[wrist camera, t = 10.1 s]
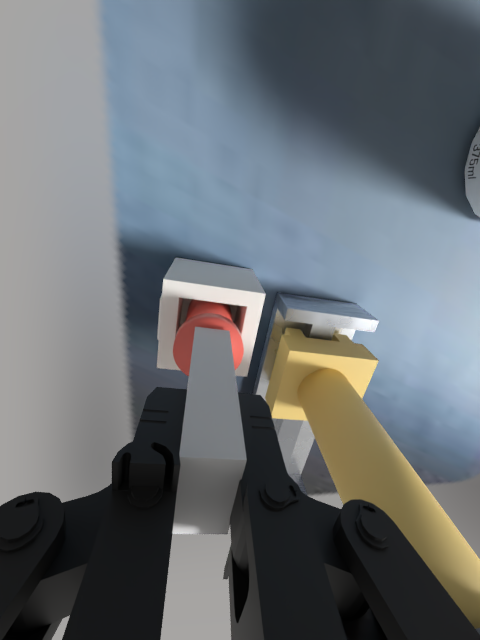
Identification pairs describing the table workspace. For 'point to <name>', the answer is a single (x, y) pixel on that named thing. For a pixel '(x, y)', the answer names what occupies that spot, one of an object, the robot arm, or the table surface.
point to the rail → (314, 322)
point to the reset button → (205, 317)
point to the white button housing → (212, 286)
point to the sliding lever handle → (368, 453)
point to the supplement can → (473, 175)
